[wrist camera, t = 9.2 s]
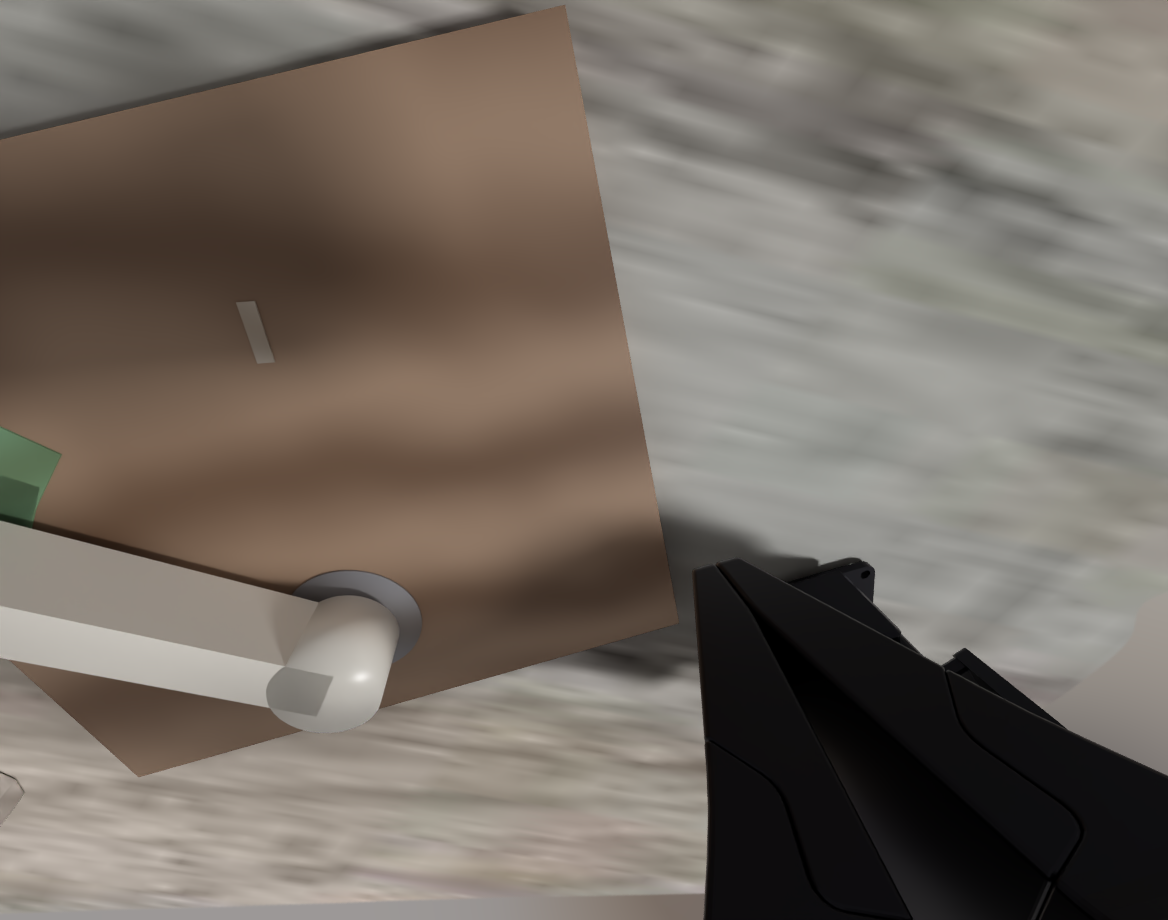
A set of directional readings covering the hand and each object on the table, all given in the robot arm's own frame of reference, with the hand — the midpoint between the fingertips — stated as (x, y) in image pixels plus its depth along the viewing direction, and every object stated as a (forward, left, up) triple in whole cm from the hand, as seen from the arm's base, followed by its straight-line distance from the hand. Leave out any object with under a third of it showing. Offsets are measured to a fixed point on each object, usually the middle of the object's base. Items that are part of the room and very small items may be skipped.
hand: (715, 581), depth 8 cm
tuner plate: (0, +11, -11) cm, 16 cm away
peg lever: (-2, +17, -9) cm, 19 cm away
